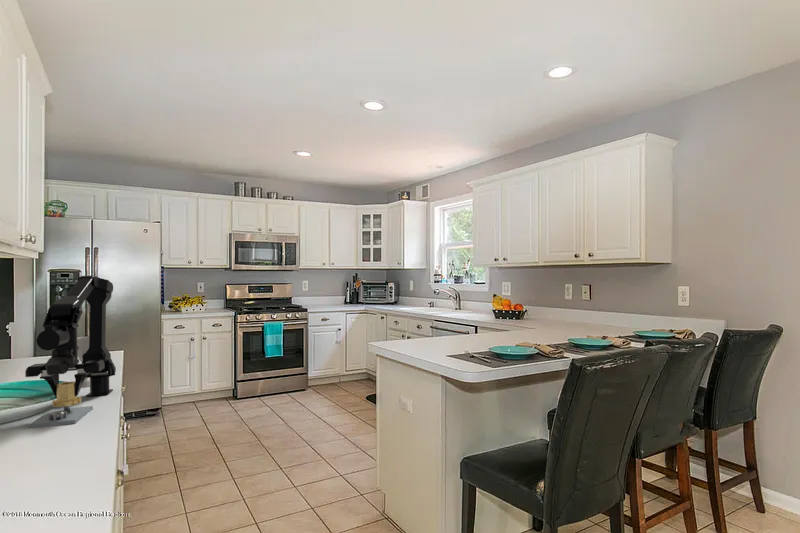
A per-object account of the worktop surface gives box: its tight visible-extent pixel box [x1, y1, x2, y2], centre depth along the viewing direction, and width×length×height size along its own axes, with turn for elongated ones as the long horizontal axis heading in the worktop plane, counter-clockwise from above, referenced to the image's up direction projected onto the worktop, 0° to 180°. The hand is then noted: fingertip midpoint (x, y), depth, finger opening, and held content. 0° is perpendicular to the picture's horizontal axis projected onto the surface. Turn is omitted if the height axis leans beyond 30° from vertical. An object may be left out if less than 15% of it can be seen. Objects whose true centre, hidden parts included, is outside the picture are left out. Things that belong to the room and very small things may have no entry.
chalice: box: [77, 335, 90, 388], centre depth 177 cm, size 7×7×18 cm
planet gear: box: [51, 380, 82, 408], centre depth 141 cm, size 7×7×6 cm
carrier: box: [29, 405, 94, 429], centre depth 138 cm, size 14×11×6 cm
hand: (66, 396), depth 141 cm, fingers closed on planet gear, 5 cm apart
